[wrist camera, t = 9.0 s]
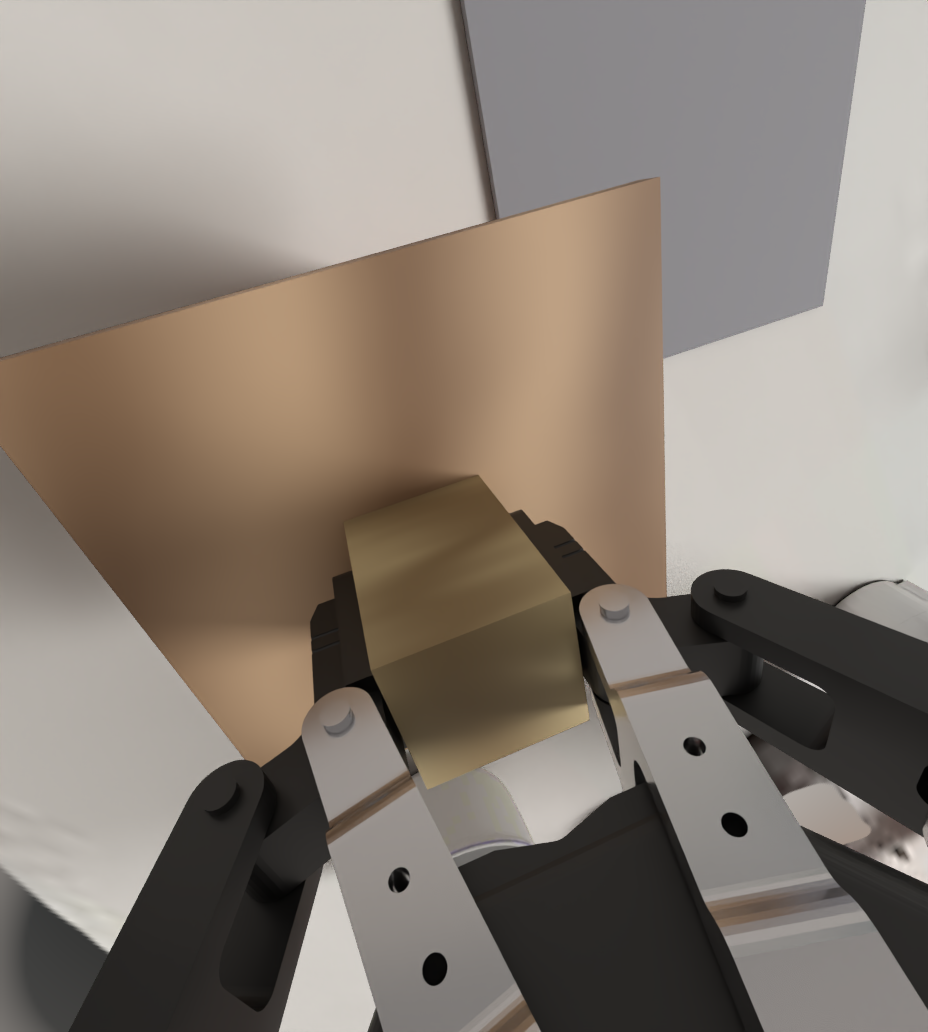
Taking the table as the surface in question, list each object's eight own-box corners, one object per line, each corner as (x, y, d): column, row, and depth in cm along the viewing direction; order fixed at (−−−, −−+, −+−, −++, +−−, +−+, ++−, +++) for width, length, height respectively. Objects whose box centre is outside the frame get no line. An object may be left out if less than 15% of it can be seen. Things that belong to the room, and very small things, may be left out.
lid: (638, 180, 11) (899, 139, 6) (653, 625, 19) (781, 763, 14) (-30, 366, 10) (-366, 503, 5) (279, 779, 17) (274, 1000, 12)
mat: (881, -180, 19) (892, -188, 18) (816, 304, 28) (822, 305, 27) (444, -97, 16) (447, -104, 16) (526, 400, 25) (529, 402, 25)
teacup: (333, 795, 35) (342, 929, 28) (470, 715, 35) (512, 829, 28) (425, 869, 42) (450, 988, 36) (538, 803, 43) (584, 909, 36)
